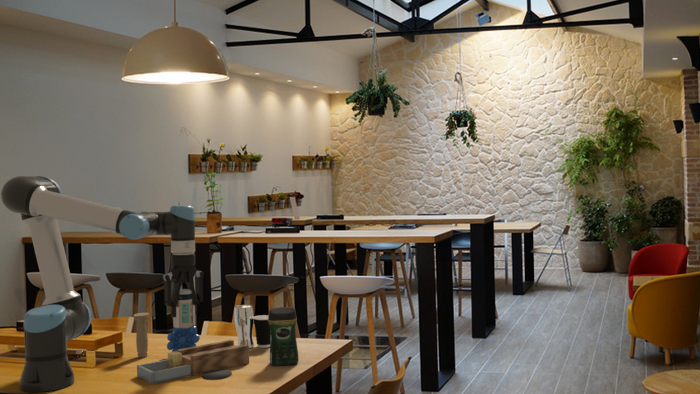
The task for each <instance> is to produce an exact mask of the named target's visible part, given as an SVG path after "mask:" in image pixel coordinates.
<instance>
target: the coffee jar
mask: <svg viewBox="0 0 700 394" xmlns="http://www.w3.org/2000/svg"><path fill="white" fill-rule="evenodd" d="M296 312H297V311H296V308H295V307H294V306H292V307H291V306H285V307H284V306H283V307H281V306H280V307H272V308H269V311H268V315H269V316H268V323H269V326H270V347H269V364H270V365H272V366H274V367H275V366H278V367H280V366H292V365H295V364H297V363H299V349H298V342H297V334H296V324H297V322H298V321H297V320H298V317H297V313H296Z"/></svg>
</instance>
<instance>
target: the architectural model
mask: <svg viewBox="0 0 700 394" xmlns="http://www.w3.org/2000/svg"><path fill="white" fill-rule="evenodd" d="M70 351H74V350H73V349H72V348H71V350H70ZM82 352H83V350H75V355H76V354H81V353H82Z"/></svg>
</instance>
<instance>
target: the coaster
mask: <svg viewBox="0 0 700 394" xmlns="http://www.w3.org/2000/svg"><path fill="white" fill-rule="evenodd" d="M232 375H233V373H232V370H230V369H217V370H210V371H207V372H204V373H203V374H202V378H203V379H206V380H223V379H226V378H230V377H231V376H232Z"/></svg>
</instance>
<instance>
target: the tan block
mask: <svg viewBox="0 0 700 394" xmlns="http://www.w3.org/2000/svg"><path fill="white" fill-rule="evenodd" d="M167 359H168V363H171V364H173V365H174V364H179V363H182V353H180V352H177V351H175V352H172V351H170V352H167Z"/></svg>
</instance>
